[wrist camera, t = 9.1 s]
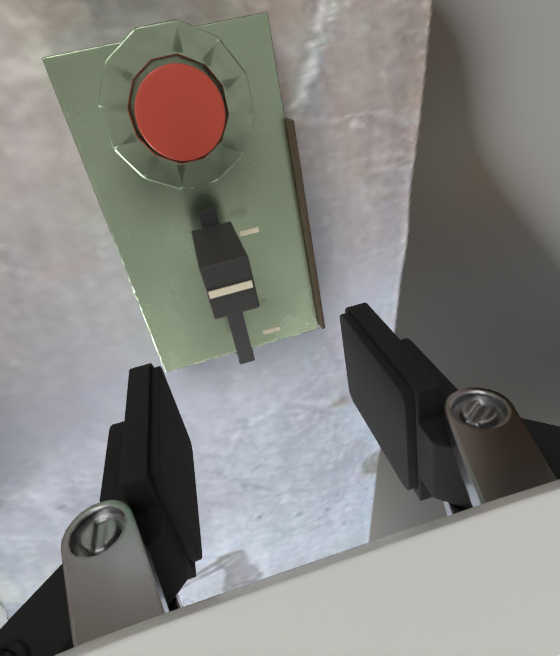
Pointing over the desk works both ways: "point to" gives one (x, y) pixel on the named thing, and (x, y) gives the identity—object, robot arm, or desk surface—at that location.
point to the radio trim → (211, 219)
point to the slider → (224, 270)
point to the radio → (193, 181)
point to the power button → (180, 111)
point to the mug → (2, 617)
